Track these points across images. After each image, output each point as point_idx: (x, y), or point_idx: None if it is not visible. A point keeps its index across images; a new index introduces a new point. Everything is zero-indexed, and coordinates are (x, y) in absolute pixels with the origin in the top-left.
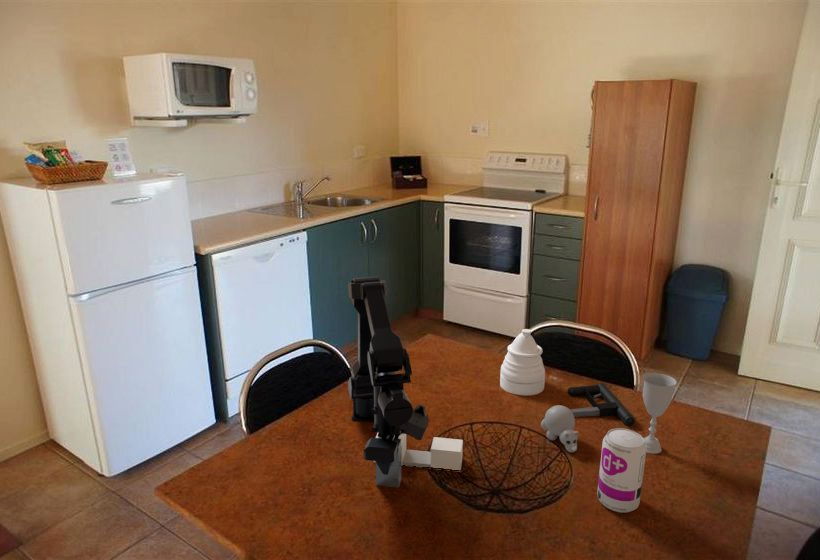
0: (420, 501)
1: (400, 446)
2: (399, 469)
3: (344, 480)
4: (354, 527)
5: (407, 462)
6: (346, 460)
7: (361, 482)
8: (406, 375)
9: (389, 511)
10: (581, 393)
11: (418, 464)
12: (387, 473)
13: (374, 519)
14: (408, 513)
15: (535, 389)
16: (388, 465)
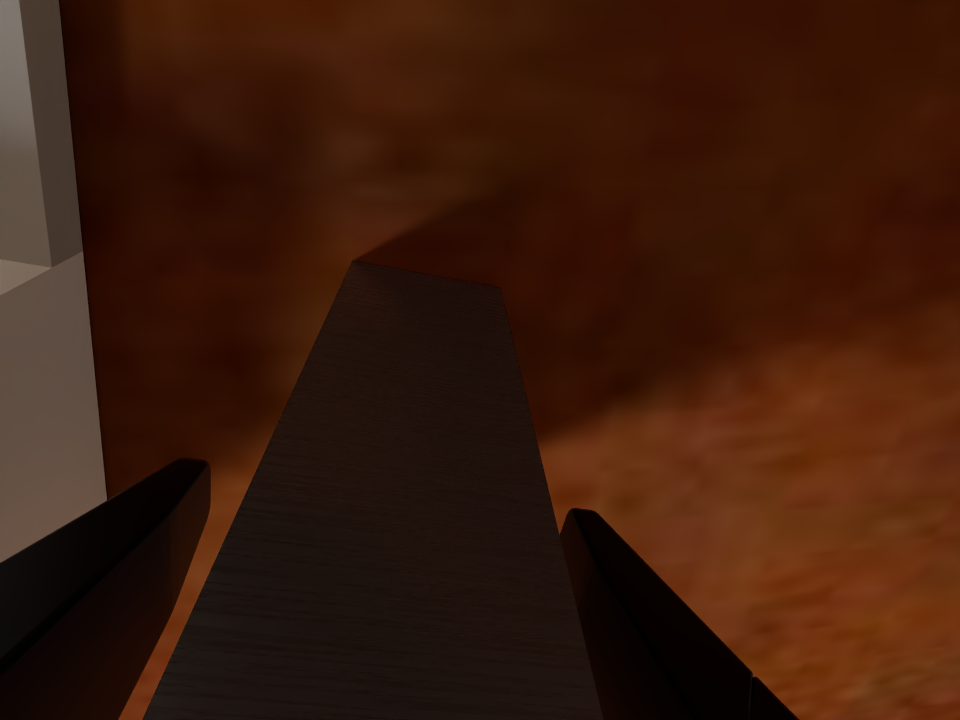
0: (770, 40)
1: (297, 680)
2: (460, 370)
3: None
4: (917, 571)
5: (47, 198)
6: (136, 685)
7: None
8: None
9: (831, 362)
10: None
11: (34, 29)
12: (607, 529)
13: (886, 464)
14: (919, 189)
15: None
16: (723, 660)
